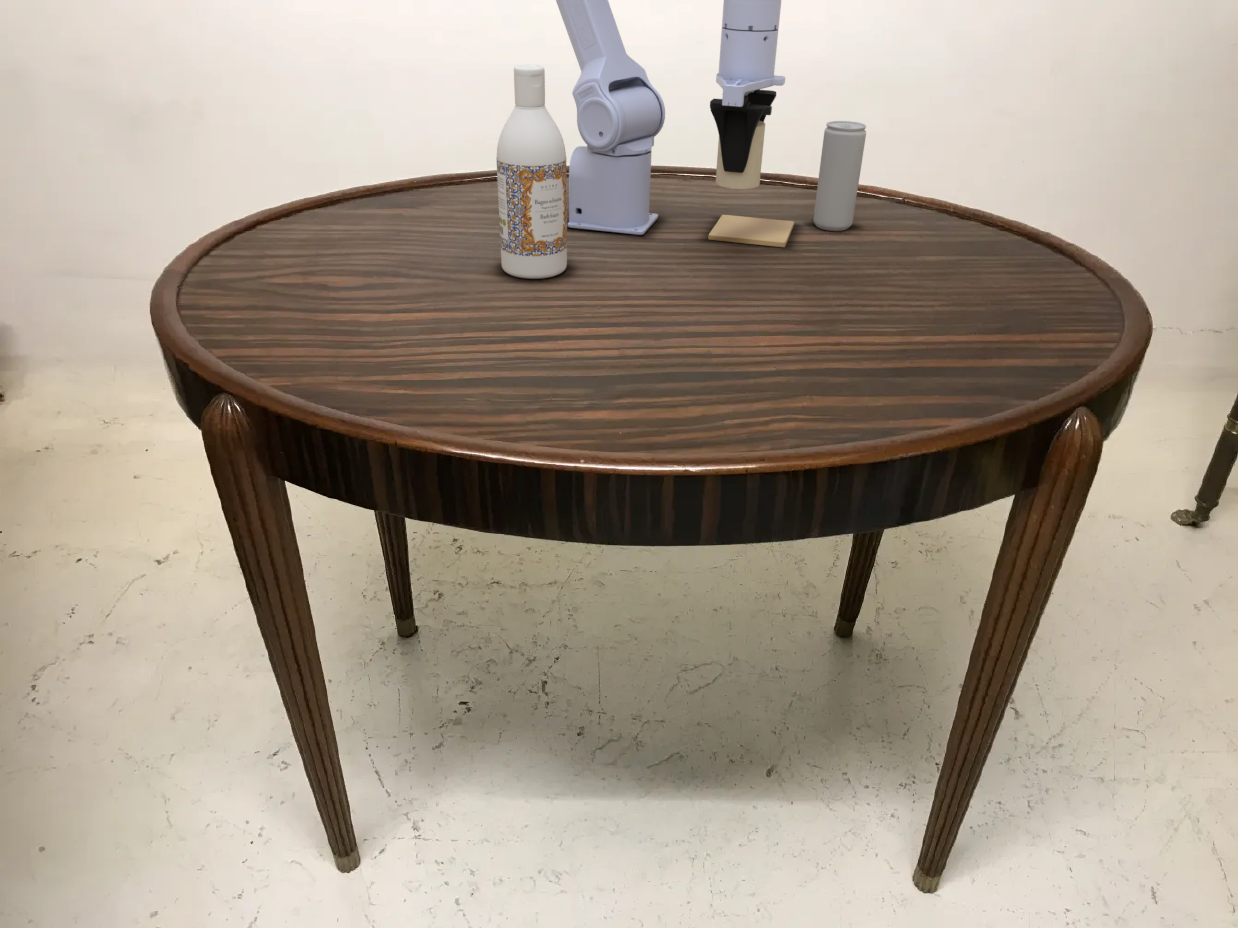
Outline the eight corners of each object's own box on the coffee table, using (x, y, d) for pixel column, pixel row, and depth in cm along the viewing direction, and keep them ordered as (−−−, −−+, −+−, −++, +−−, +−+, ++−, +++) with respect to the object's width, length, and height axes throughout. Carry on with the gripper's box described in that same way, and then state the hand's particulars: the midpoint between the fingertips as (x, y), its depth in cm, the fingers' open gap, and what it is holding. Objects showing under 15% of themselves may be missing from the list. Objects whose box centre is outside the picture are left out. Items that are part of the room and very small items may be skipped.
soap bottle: (711, 187, 101) (717, 107, 96) (720, 176, 104) (725, 99, 100) (760, 191, 99) (768, 110, 95) (767, 181, 103) (774, 103, 99)
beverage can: (849, 221, 117) (864, 121, 110) (854, 233, 112) (870, 129, 106) (810, 220, 117) (823, 120, 111) (813, 231, 113) (827, 128, 107)
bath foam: (521, 285, 95) (513, 74, 84) (490, 265, 100) (479, 64, 89) (579, 273, 98) (579, 69, 88) (546, 255, 103) (542, 60, 93)
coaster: (707, 239, 109) (708, 234, 109) (721, 219, 116) (722, 214, 116) (784, 247, 107) (785, 242, 107) (794, 226, 114) (794, 221, 114)
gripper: (779, 38, 87) (764, 185, 94) (798, 23, 99) (784, 155, 106) (705, 34, 89) (696, 179, 96) (733, 20, 101) (723, 149, 108)
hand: (738, 166), depth 101 cm, fingers closed on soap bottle, 5 cm apart
